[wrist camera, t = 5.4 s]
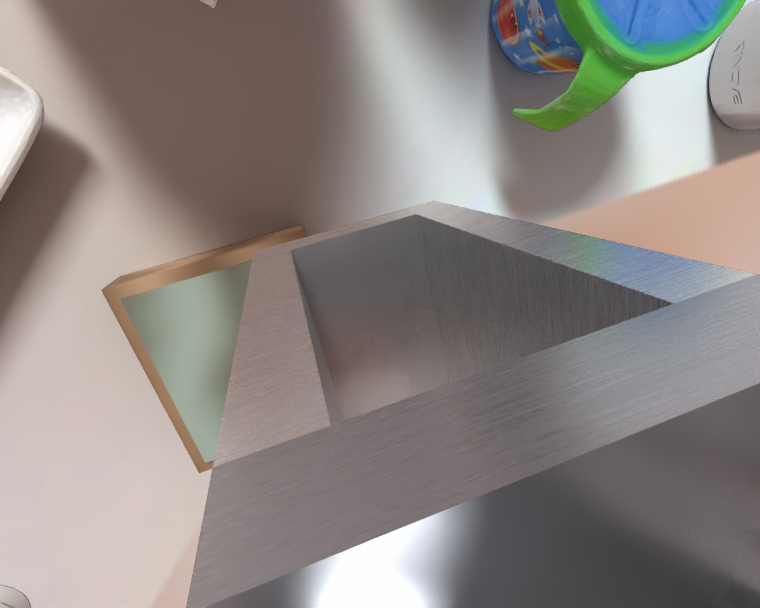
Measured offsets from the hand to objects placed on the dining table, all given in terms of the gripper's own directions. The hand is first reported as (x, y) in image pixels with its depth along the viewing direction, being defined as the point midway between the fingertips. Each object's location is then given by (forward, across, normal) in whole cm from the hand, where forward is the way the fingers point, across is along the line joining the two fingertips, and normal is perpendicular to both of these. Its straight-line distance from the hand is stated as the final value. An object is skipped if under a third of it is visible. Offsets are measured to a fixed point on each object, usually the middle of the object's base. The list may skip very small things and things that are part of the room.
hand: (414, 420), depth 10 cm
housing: (+4, 0, 0) cm, 4 cm away
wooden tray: (+20, +7, +5) cm, 22 cm away
